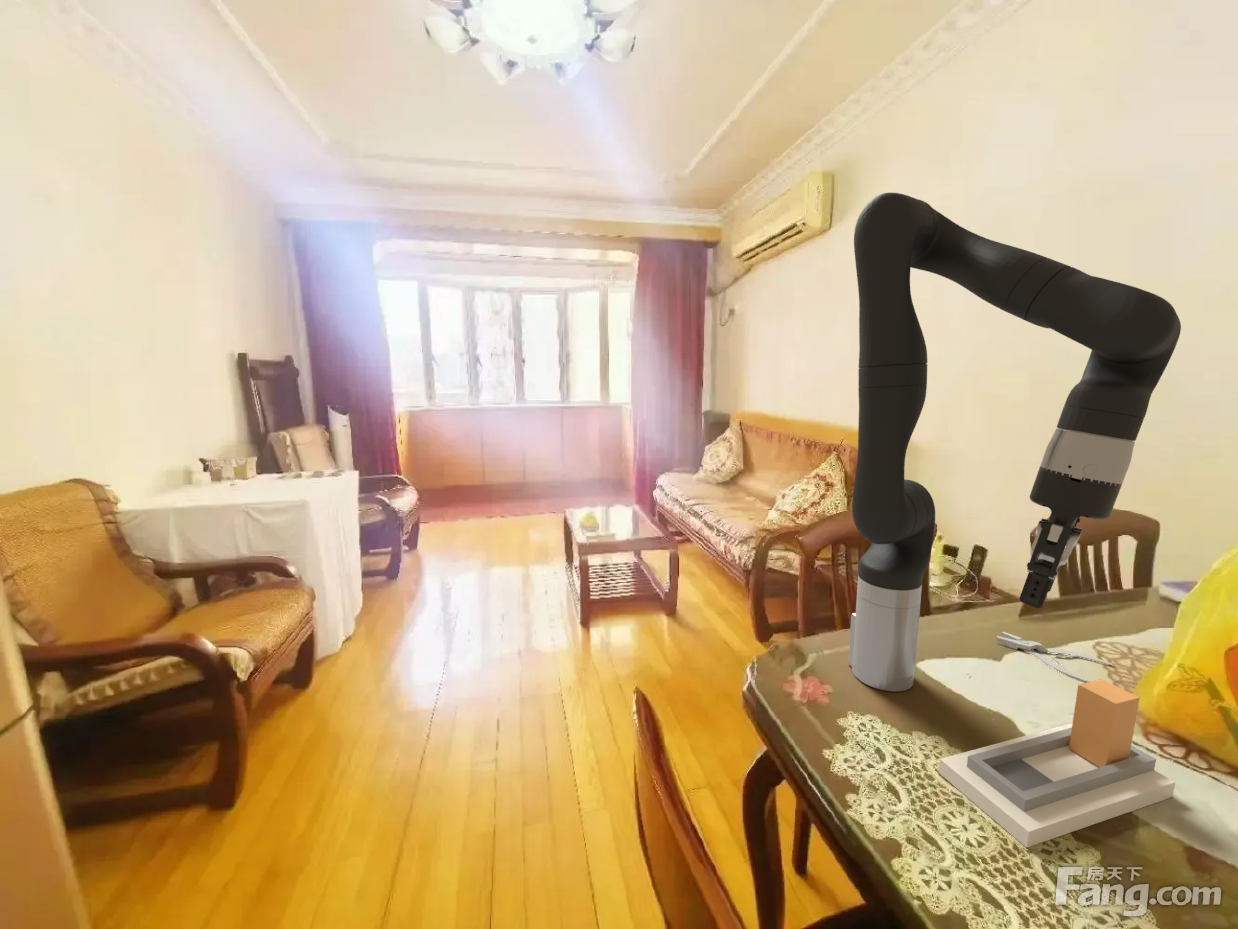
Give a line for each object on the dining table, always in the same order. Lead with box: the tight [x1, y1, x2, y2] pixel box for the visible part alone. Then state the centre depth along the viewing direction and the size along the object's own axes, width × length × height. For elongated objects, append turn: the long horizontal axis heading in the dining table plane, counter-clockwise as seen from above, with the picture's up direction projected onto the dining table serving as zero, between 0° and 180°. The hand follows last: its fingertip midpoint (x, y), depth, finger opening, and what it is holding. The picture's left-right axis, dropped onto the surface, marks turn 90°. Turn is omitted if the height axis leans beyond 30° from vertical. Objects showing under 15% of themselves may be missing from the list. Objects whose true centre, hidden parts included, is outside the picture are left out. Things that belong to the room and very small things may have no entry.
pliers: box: [996, 631, 1113, 683], centre depth 91 cm, size 10×2×15 cm
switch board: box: [938, 722, 1176, 848], centre depth 63 cm, size 11×23×4 cm, turn 106°
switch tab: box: [1069, 678, 1140, 767], centre depth 64 cm, size 4×4×9 cm
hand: (1034, 596), depth 64 cm, fingers open, 8 cm apart
